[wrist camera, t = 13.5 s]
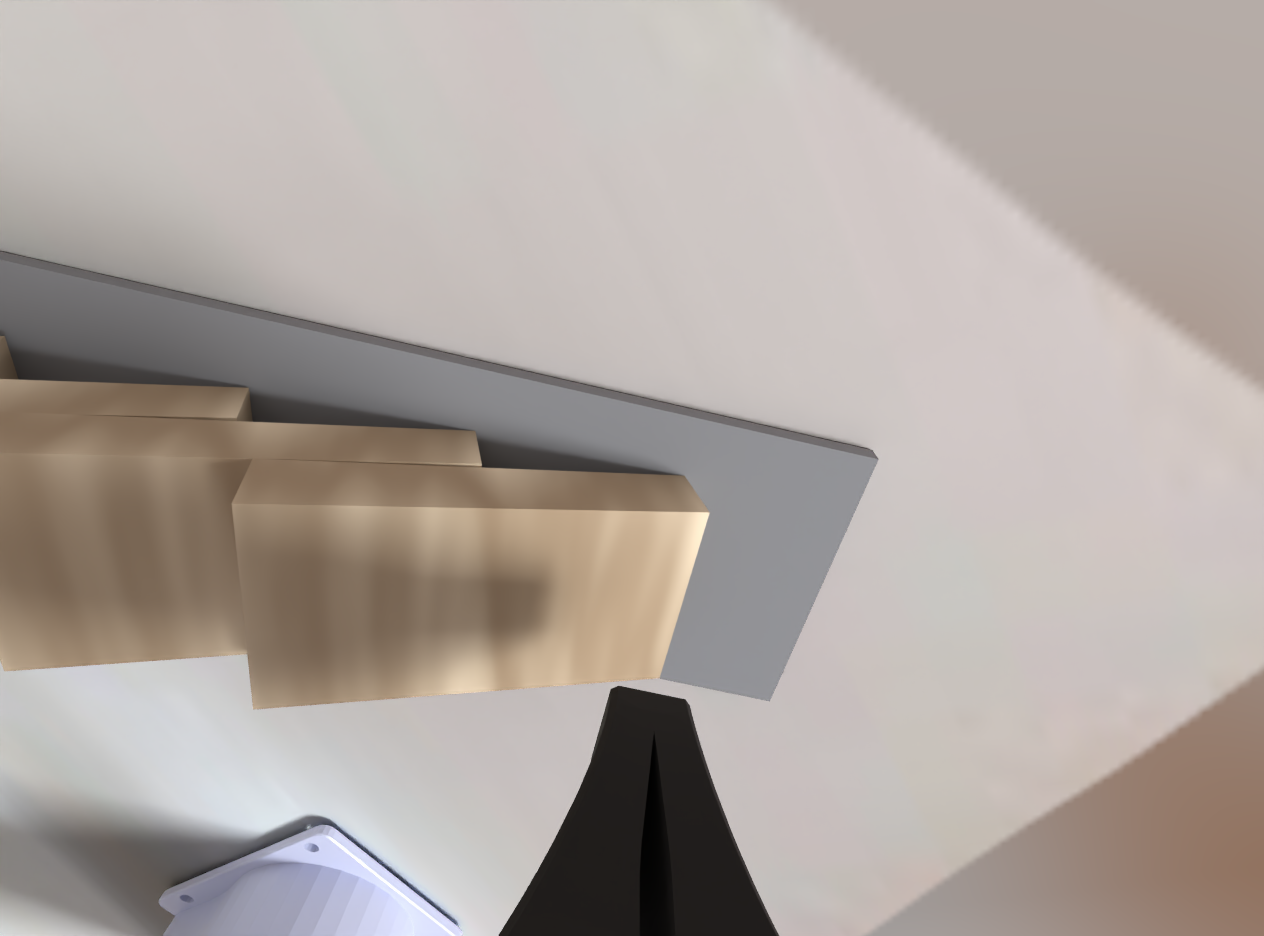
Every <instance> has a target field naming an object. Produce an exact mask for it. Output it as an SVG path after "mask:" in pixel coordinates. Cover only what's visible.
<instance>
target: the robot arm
mask: <svg viewBox="0 0 1264 936" xmlns="http://www.w3.org/2000/svg"><path fill="white" fill-rule="evenodd" d="M159 904H160V906H161V907H162V908H164V909H165V910H167V911H168V912H170V913H171V914H173V915H174V916H175V917H174V919H173V920H172V922H171V923H170V925H169V926H168V928H167V929H166V931H165V932H164V934H163V936H463V932H462V930H461V929H460V928H459V927H458V926H457V925H455V924H454V923H453V922H452V921H450V920H449V919H448V918H447V917H445V916H444V915H443V914H442V913H440V912H439V911H438V910H437V909H435V908H434V907H433V906H432V905H430V904H429V903H428V902H427V901H425V900H424V899H423V898H422V897H420V896H419V895H418V894H416V893H415V892H414V891H413V890H411V889H410V888H409V887H408V886H406V885H405V884H404V883H403V882H401V881H400V880H399V879H398V878H396V877H395V876H394V875H393V874H391V873H390V872H389V871H388V870H386V869H385V868H384V867H383V866H381V865H380V864H379V863H378V862H376V861H375V860H374V859H373V858H371V857H370V856H369V855H368V854H366V853H365V852H364V851H363V850H361V849H360V848H359V847H358V846H356V845H355V844H354V843H353V842H351V841H350V840H349V839H348V838H346V837H345V836H344V835H343V834H341V833H340V832H339V831H338V830H336V829H335V828H333V827H332V826H328V825H318V826H315V827H313V828H311V829H308V830H306V831H304V832H301V833H299V834H297V835H294V836H292V837H289V838H287V839H285V840H282V841H280V842H278V843H275V844H273V845H271V846H268V847H266V848H263V849H261V850H259V851H256V852H254V853H252V854H249V855H247V856H245V857H242V858H240V859H238V860H235V861H233V862H230V863H228V864H226V865H223V866H221V867H219V868H216V869H214V870H212V871H209V872H207V873H204V874H202V875H200V876H197V877H195V878H193V879H190V880H188V881H186V882H183V883H181V884H178V885H176V886H174V887H171V888H169V889H167V890H165V891H164V893H163V894H162V896H161V897H160V899H159ZM499 936H779V935H778V933H777V931H776V929H775V927H774V925H773V923H772V921H771V919H770V917H769V915H768V913H767V911H766V909H765V906H764V904H763V902H762V900H761V898H760V896H759V894H758V892H757V889H756V887H755V885H754V883H753V881H752V878H751V876H750V874H749V872H748V869H747V867H746V865H745V862H744V860H743V858H742V856H741V853H740V851H739V849H738V846H737V844H736V841H735V839H734V837H733V834H732V832H731V829H730V827H729V824H728V821H727V819H726V816H725V813H724V811H723V808H722V806H721V803H720V800H719V798H718V795H717V793H716V790H715V787H714V784H713V781H712V779H711V776H710V773H709V770H708V767H707V764H706V761H705V758H704V755H703V751H702V748H701V745H700V742H699V738H698V735H697V732H696V728H695V724H694V721H693V717H692V713H691V709H690V705H689V704H688V702H687V701H686V700H685V699H680V698H675V697H671V696H666V695H661V694H656V693H651V692H646V691H641V690H637V689H632V688H627V687H622V686H617V687H615V688H612V689H611V691H610V694H609V698H608V701H607V705H606V708H605V712H604V715H603V719H602V722H601V726H600V730H599V733H598V737H597V740H596V744H595V747H594V751H593V754H592V759H591V763H590V765H589V768H588V770H587V772H586V775H585V777H584V779H583V782H582V784H581V787H580V789H579V791H578V793H577V795H576V798H575V800H574V802H573V804H572V806H571V808H570V810H569V812H568V814H567V816H566V818H565V820H564V822H563V824H562V826H561V828H560V830H559V832H558V834H557V836H556V838H555V840H554V842H553V843H552V845H551V847H550V849H549V851H548V853H547V855H546V856H545V858H544V860H543V862H542V864H541V865H540V867H539V869H538V871H537V873H536V874H535V876H534V878H533V879H532V881H531V883H530V885H529V886H528V888H527V890H526V892H525V893H524V895H523V897H522V898H521V900H520V902H519V903H518V905H517V907H516V908H515V910H514V911H513V913H512V915H511V916H510V918H509V919H508V921H507V923H506V924H505V926H504V927H503V929H502V931H501V932H500V934H499Z"/></svg>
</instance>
